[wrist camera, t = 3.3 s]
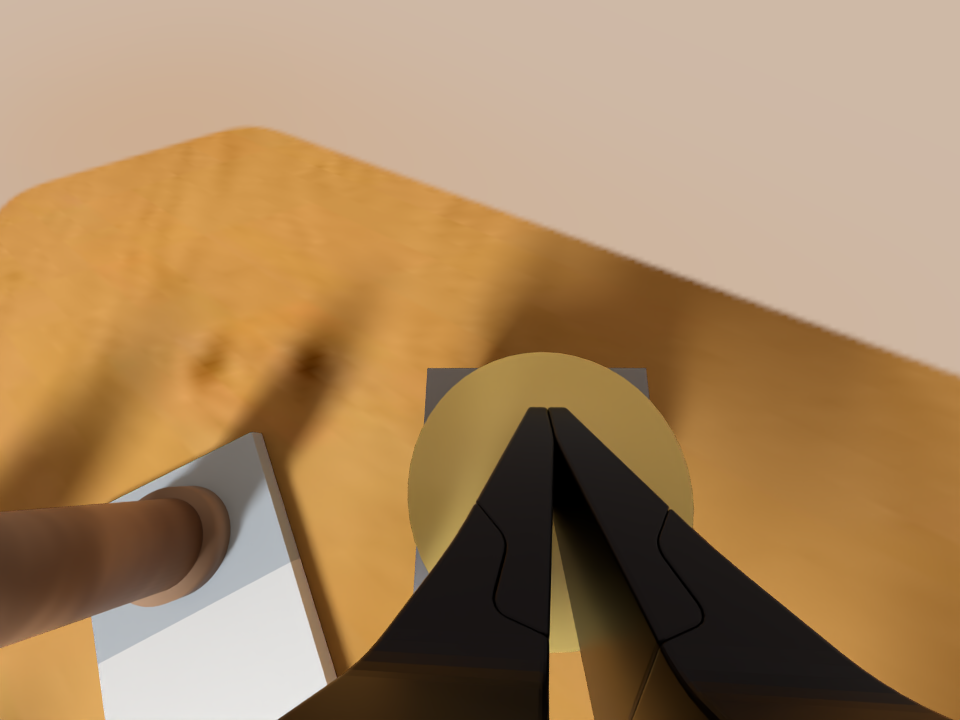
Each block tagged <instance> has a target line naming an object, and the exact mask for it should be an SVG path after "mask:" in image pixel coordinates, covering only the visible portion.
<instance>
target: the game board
mask: <svg viewBox="0 0 960 720" xmlns="http://www.w3.org/2000/svg"><path fill="white" fill-rule="evenodd" d="M177 486H200V487H204V488H206V489H209V490H211V491H212V492H214V493H215V494H216V495H217V496H218V497H219V498H220V499H221V500H222V501H223V503H224V505H225V506H226V509H227V511H228V514H229V518H230V526H231V528H230V541H229V545H228V549H227V552H226V555H225V557H224V559H223V561H222V563H221V565H220V567H219V568H218V570H217V571H216V573H215V574H214V575H213V576H212V578H211V579H210V580H209V581H208V582H207V583H206V584H204V585H203V586H202V587H201V588H199V589H198V590H196V591H195V592H193V593H191V594H189V595H187V596H184V597H182V598H179V599H177V600H174V601H171V602H169V603H166V604H163V605H160V606H155V607H141V606H137V605H134V604H131V603H128V604H126V605H123V606H120V607H117V608H114V609H111V610H108V611H105V612H103V613H100V614H97V615H94V616H91V618H92V626H93V633H94V640H95V648H96V655H97V662H98V670H99V677H100V685H101V692H102V699H103V707H104V714H105V720H277V719H279V718H280V717H282V716H283V715H285V714H286V713H287V712H289V711H290V710H292V709H293V708H295V707H296V706H298V705H299V704H300V703H302V702H303V701H305V700H306V699H308V698H309V697H311V696H312V695H313V694H315V693H316V692H318V691H319V690H321V689H322V688H323V687H325V686H326V685H328V684H329V683H331V682H332V681H334V680H335V679H336V678H337V676H336V673H335V670H334V666H333V663H332V660H331V657H330V653H329V650H328V647H327V644H326V640H325V637H324V634H323V631H322V627H321V624H320V621H319V618H318V614H317V611H316V608H315V605H314V601H313V598H312V595H311V592H310V588H309V585H308V582H307V579H306V575H305V572H304V569H303V566H302V562H301V559H300V556H299V553H298V549H297V546H296V543H295V540H294V536H293V533H292V530H291V527H290V524H289V520H288V517H287V514H286V511H285V507H284V504H283V501H282V498H281V494H280V491H279V488H278V485H277V481H276V478H275V475H274V472H273V468H272V465H271V462H270V459H269V455H268V452H267V449H266V446H265V442H264V439H263V436H262V433H256V432H250V433H248V434H246V435H244V436H242V437H240V438H238V439H236V440H234V441H232V442H230V443H228V444H226V445H224V446H222V447H220V448H218V449H216V450H214V451H212V452H210V453H208V454H206V455H204V456H202V457H200V458H198V459H196V460H194V461H192V462H190V463H188V464H186V465H184V466H182V467H180V468H178V469H176V470H174V471H172V472H170V473H168V474H166V475H164V476H162V477H160V478H158V479H156V480H154V481H152V482H150V483H148V484H146V485H144V486H142V487H140V488H138V489H136V490H134V491H132V492H130V493H128V494H126V495H124V496H122V497H120V498H118V499H116V500H114V501H112V502H110V503H117V502H130V501H139V500H140V499H141V498H143V497H144V496H146V495H147V494H149V493H151V492H153V491H155V490H158V489H161V488H166V487H177Z"/></svg>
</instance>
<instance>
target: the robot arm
mask: <svg viewBox="0 0 960 720" xmlns="http://www.w3.org/2000/svg"><path fill="white" fill-rule="evenodd" d="M553 522H554V526H555V531H556V536H557V541H558V546H559V551H560V555H561V560H562V565H563V570H564V575H565V580H566V584H567V589H568V594H569V599H570V604H571V609H572V613H573V618H574V623H575V628H576V633H577V638H578V642H579V647H580V652H581V657H582V662H583V667H584V671H585V676H586V681H587V686H588V691H589V696H590V700H591V705H592V710H593V715H594V720H952V719H950V718H948V717H946V716H943V715H941V714H939V713H937V712H935V711H933V710H930V709H928V708H926V707H924V706H922V705H920V704H918V703H917V702H915V701H913V700H911V699H909V698H907V697H905V696H904V695H902V694H900V693H899V692H897V691H895V690H894V689H892V688H890V687H889V686H887V685H886V684H884V683H882V682H881V681H879V680H878V679H876V678H875V677H873V676H872V675H871V674H869V673H868V672H866V671H865V670H863V669H862V668H861V667H859V666H858V665H856V664H855V663H854V662H853V661H851V660H850V659H849V658H847V657H846V656H845V655H844V654H842V653H841V652H840V651H838V650H837V649H836V648H835V647H833V646H832V645H831V644H830V643H829V642H827V641H826V640H825V639H824V638H822V637H821V636H820V635H819V634H818V633H816V632H815V631H814V630H813V629H811V628H810V627H809V626H808V625H807V624H805V623H804V622H803V621H802V620H800V619H799V618H798V617H797V616H795V615H794V614H793V613H792V612H791V611H789V610H788V609H787V608H786V607H784V606H783V605H782V604H781V603H780V602H778V601H777V600H776V599H775V598H773V597H772V596H771V595H770V594H768V593H767V592H766V591H765V590H764V589H762V588H761V587H760V586H759V585H757V584H756V583H755V582H754V581H753V580H751V579H750V578H749V577H748V576H746V575H745V574H744V573H743V572H742V571H741V570H739V569H738V568H737V567H736V566H735V565H733V564H732V563H731V562H730V561H729V560H728V559H726V558H725V557H724V556H723V555H722V554H720V553H719V552H718V551H717V550H716V549H714V548H713V547H712V546H711V545H710V544H709V543H708V542H707V541H706V540H705V539H704V538H702V537H701V536H700V535H699V534H698V533H697V532H696V531H695V530H694V529H693V528H692V527H690V526H689V525H688V524H687V523H686V522H685V521H684V520H683V519H682V518H681V517H680V516H679V515H678V514H677V513H676V512H675V511H674V510H672V509H670V510H669V506H668V505H667V504H666V503H665V502H664V501H663V500H662V499H661V498H660V497H659V496H658V495H657V494H656V493H655V492H654V491H653V490H652V489H650V488H649V487H648V486H647V485H646V484H645V483H644V482H643V481H642V480H641V479H640V478H639V477H638V476H637V475H636V474H635V473H634V472H633V471H632V470H631V469H630V468H629V467H627V466H626V465H625V464H624V463H623V462H622V461H621V460H620V459H619V458H618V457H617V456H616V455H615V454H614V453H613V452H612V451H611V450H610V449H609V448H608V447H607V446H606V445H605V444H603V443H602V442H601V441H600V440H599V439H598V438H597V437H596V436H595V435H594V434H593V433H592V432H591V431H590V430H589V429H588V428H587V427H586V426H585V425H584V424H583V423H582V422H581V421H579V420H578V419H577V418H576V417H575V416H574V415H573V414H572V413H571V412H570V411H569V410H568V409H567V408H565V407H549V408H548V409H547V408H545V407H529V408H528V409H527V411H526V413H525V415H524V416H523V418H522V420H521V422H520V424H519V425H518V427H517V429H516V431H515V433H514V434H513V436H512V438H511V440H510V441H509V443H508V445H507V447H506V449H505V450H504V452H503V454H502V456H501V458H500V459H499V461H498V463H497V465H496V466H495V468H494V470H493V472H492V474H491V475H490V477H489V479H488V481H487V483H486V484H485V486H484V488H483V490H482V491H481V493H480V495H479V497H478V499H477V500H476V504H474V505H473V507H472V509H471V511H470V512H469V514H468V516H467V518H466V520H465V521H464V523H463V524H462V526H461V528H460V529H459V531H458V533H457V534H456V536H455V537H454V539H453V541H452V542H451V544H450V545H449V546H448V548H447V549H446V551H445V552H444V553H443V555H442V556H441V558H440V559H439V560H438V562H437V563H436V565H435V566H434V567H433V569H432V570H431V571H430V573H429V574H428V575H427V577H426V578H425V579H424V580H423V582H422V583H421V584H420V586H419V587H418V588H417V590H416V591H415V592H414V594H413V595H412V596H411V598H410V599H409V600H408V602H407V603H406V604H405V606H404V607H403V608H402V610H401V611H400V612H399V614H398V615H397V616H396V617H395V619H394V620H393V621H392V623H391V624H390V625H389V627H388V628H387V629H386V631H385V632H384V633H383V634H382V636H381V637H380V638H379V639H378V641H377V642H376V643H375V644H374V645H373V646H372V647H371V649H370V650H369V651H368V652H367V653H366V654H365V655H364V656H363V657H362V658H361V659H360V660H359V661H358V662H357V663H355V664H354V665H353V666H352V667H351V668H350V669H349V670H347V671H346V672H345V673H343V674H342V675H341V676H339V677H338V678H336V679H335V680H334V681H332V682H331V683H329V684H328V685H326V686H325V687H323V688H322V689H321V690H319V691H318V692H316V693H315V694H313V695H312V696H311V697H309V698H308V699H306V700H305V701H303V702H302V703H300V704H299V705H298V706H296V707H295V708H293V709H292V710H290V711H289V712H287V713H286V714H285V715H283V716H282V717H280V718H279V719H277V720H549V646H550V644H549V639H550V607H551V568H552V529H553Z"/></svg>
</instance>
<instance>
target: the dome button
mask: <svg viewBox="0 0 960 720" xmlns="http://www.w3.org/2000/svg"><path fill="white" fill-rule="evenodd" d="M529 407H545V408H547V409H548V408H549V407H565V408H567V409H568V410H569V411H570V412H571V413H572V414H573V415H574V416H575V417H576V418H577V419H578V420H579V421H581V422H582V423H583V424H584V425H585V426H586V427H587V428H588V429H589V430H590V431H591V432H592V433H593V434H594V435H595V436H596V437H597V438H598V439H599V440H600V441H601V442H602V443H603V444H605V445H606V446H607V447H608V448H609V449H610V450H611V451H612V452H613V453H614V454H615V455H616V456H617V457H618V458H619V459H620V460H621V461H622V462H623V463H624V464H625V465H626V466H627V467H629V468H630V469H631V470H632V471H633V472H634V473H635V474H636V475H637V476H638V477H639V478H640V479H641V480H642V481H643V482H644V483H645V484H646V485H647V486H648V487H649V488H650V489H652V490H653V491H654V492H655V493H656V494H657V495H658V496H659V497H660V498H661V499H662V500H663V501H664V502H665V503H666V504H667V505H668V506H669V510H670V509H672V510H674V511H675V512H676V513H677V514H678V515H679V516H680V517H681V518H682V519H683V520H684V521H685V522H686V523H687V524H688V525H689V526H690V527H692V528H693V514H694V506H693V493H692V485H691V481H690V476H689V471H688V467H687V464H686V461H685V458H684V455H683V452H682V450H681V448H680V445H679V443H678V441H677V439H676V437H675V435H674V433H673V431H672V430H671V428H670V426H669V425H668V423H667V422H666V420H665V419H664V417H663V416H662V414H661V413H660V412H659V411H658V409H657V408H656V407H655V406H654V404H653V403H652V402H651V401H650V400H649V399H648V398H647V397H646V396H645V395H644V394H643V393H642V392H641V391H640V390H639V389H638V388H636V387H635V386H634V385H633V384H631V383H630V382H629V381H627V380H626V379H625V378H623V377H622V376H620V375H618V374H617V373H615V372H613V371H612V370H610V369H608V368H606V367H604V366H602V365H600V364H597V363H595V362H593V361H590V360H587V359H584V358H580V357H577V356H573V355H567V354H562V353H551V352H534V353H523V354H518V355H513V356H508V357H505V358H502V359H499V360H496V361H493V362H491V363H489V364H487V365H484V366H482V367H480V368H478V369H477V370H475V371H473V372H472V373H470V374H469V375H467V376H466V377H464V378H463V379H462V380H461V381H459V382H458V383H457V384H456V385H455V386H453V387H452V388H451V389H450V390H449V391H448V392H447V393H446V394H445V396H444V397H443V398H442V399H441V400H440V401H439V402H438V404H437V405H436V407H435V408H434V409H433V411H432V412H431V414H430V415H429V417H428V419H427V421H426V422H425V424H424V426H423V428H422V430H421V432H420V435H419V437H418V440H417V442H416V445H415V448H414V452H413V456H412V460H411V463H410V471H409V478H408V509H409V518H410V524H411V528H412V532H413V536H414V540H415V543H416V546H417V548H418V551H419V554H420V557H421V559H422V561H423V563H424V565H425V567H426V569H427V571H428V573H430V571H431V570H432V569H433V567H434V566H435V565H436V563H437V562H438V560H439V559H440V558H441V556H442V555H443V553H444V552H445V551H446V549H447V548H448V546H449V545H450V544H451V542H452V541H453V539H454V537H455V536H456V534H457V533H458V531H459V529H460V528H461V526H462V524H463V523H464V521H465V520H466V518H467V516H468V514H469V512H470V511H471V509H472V507H473V505H474V504H476V500H477V499H478V497H479V495H480V493H481V491H482V490H483V488H484V486H485V484H486V483H487V481H488V479H489V477H490V475H491V474H492V472H493V470H494V468H495V466H496V465H497V463H498V461H499V459H500V458H501V456H502V454H503V452H504V450H505V449H506V447H507V445H508V443H509V441H510V440H511V438H512V436H513V434H514V433H515V431H516V429H517V427H518V425H519V424H520V422H521V420H522V418H523V416H524V415H525V413H526V411H527V409H528V408H529ZM549 644H550V646H549V652H551V653H555V652H576V651H580V647H579V642H578V638H577V633H576V628H575V623H574V618H573V613H572V609H571V604H570V599H569V594H568V589H567V584H566V580H565V575H564V570H563V565H562V560H561V555H560V551H559V546H558V541H557V536H556V531H555V526H554V522H553V529H552V568H551V607H550V639H549Z"/></svg>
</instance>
